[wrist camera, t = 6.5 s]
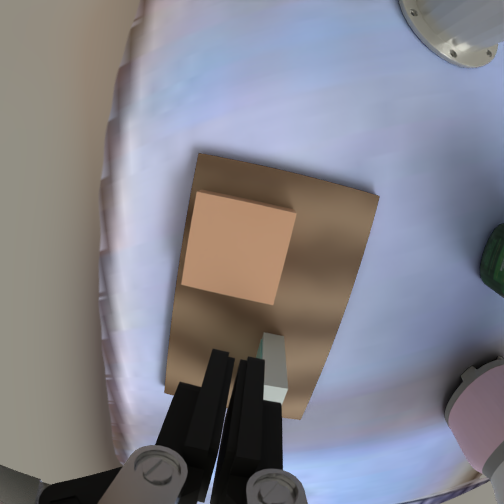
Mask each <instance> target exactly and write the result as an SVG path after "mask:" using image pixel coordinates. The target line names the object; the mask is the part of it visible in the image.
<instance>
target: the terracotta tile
mask: <svg viewBox="0 0 504 504" xmlns="http://www.w3.org/2000/svg"><path fill="white" fill-rule="evenodd" d="M296 215H297V213H296V211H295V210H293V209H289V208H285V207H281V206H276V205H272V204H267V203H263V202H258V201H254V200H249V199H245V198H240V197H235V196H231V195H226V194H221V193H216V192H211V191H207V190H200V191H197V193H196V199H195V204H194V210H193V215H192V221H191V227H190V232H189V238H188V244H187V251H186V257H185V263H184V270H183V276H182V283H181V285H185V286H189V287H193V288H198V289H202V290H206V291H210V292H215V293H219V294H224V295H228V296H233V297H237V298H242V299H246V300H251V301H255V302H260V303H265V304H270V305H273V304H274V300H275V297H276V293H277V289H278V285H279V281H280V278H281V274H282V270H283V266H284V262H285V258H286V255H287V251H288V247H289V243H290V239H291V235H292V231H293V227H294V223H295V219H296Z"/></svg>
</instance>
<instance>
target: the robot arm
mask: <svg viewBox="0 0 504 504" xmlns="http://www.w3.org/2000/svg"><path fill="white" fill-rule="evenodd" d="M399 4H400V7H401V10H402V12H403V15H404V17H405V19H406V21H407V22H408V24H409V26H410V27H411V28H412V30H413V31H414V33H415V34H416V35H417V36H418V38H419V39H420V40H421V41H422V42H423V43H424V44H425V45H426V46H427V47H428V48H429V49H430V50H431V51H433V52H434V53H435V54H437V55H438V56H439V57H441V58H442V59H444V60H446V61H448V62H449V63H451V64H454V65H457V66H459V67H463V68H478V67H481V66H484V65H486V64H488V63H490V62H491V61H492V60H493V59H494V57H495V55H496V53H497V49H498V43H500V42H503V41H504V0H399ZM228 356H229V352H226V351H222V350H217V349H212V352H211V356H210V359H209V362H208V366H207V369H206V372H205V376H204V379H203V383H202V386H201V387H200V386H196V385H192V384H188V383H184V382H179V384H178V386H177V389H176V392H175V394H174V397H173V399H172V402H171V405H170V407H169V410H168V412H167V415H166V418H165V420H164V423H163V425H162V428H161V431H160V433H159V436H158V439H157V441H156V444H155V445H149V446H144V447H141V448H139V449H137V450H135V451H134V452H133V453H132V454H131V455H130V457H129V458H128V460H127V461H126V463H125V464H124V466H122V467H119V468H116V469H112V470H109V471H105V472H101V473H97V474H94V475H90V476H86V477H82V478H77V479H73V480H69V481H64V482H59V483H55V484H52V485H51V484H47V483H44V482H42V481H41V479H38V478H36V477H33V476H30V475H27V474H24V473H21V472H18V471H16V470H13V469H10V468H8V467H5V466H2V465H0V504H197V501H199V502H203V503H204V502H205V498H206V494H207V491H208V487H209V484H210V480H211V476H212V473H213V469H214V465H215V462H216V458H217V454H218V449H219V445H220V450H219V455H218V461H217V467H216V472H215V478H214V483H213V489H212V494H211V500H210V504H308V503H307V499H306V495H305V491H304V488H303V486H302V483H301V482H300V481H299V480H298V479H297V478H296V477H295V476H294V475H292V474H291V473H289V472H286V471H283V450H282V405H281V403H279V402H273V401H267V400H263V397H264V374H265V360H264V359H259V358H254V357H249V356H248V357H247V360H242V359H240V362H239V366H238V370H237V374H236V378H235V382H234V386H233V390H232V394H231V398H230V402H229V405H228V409H227V413H226V417H225V412H226V406H227V401H228V395H229V389H230V384H231V378H232V373H233V367H234V362H235V358H233V357H228ZM224 417H225V422H224ZM223 423H224V427H223ZM222 428H223V433H222ZM221 434H222V439H221ZM220 439H221V444H220Z"/></svg>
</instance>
